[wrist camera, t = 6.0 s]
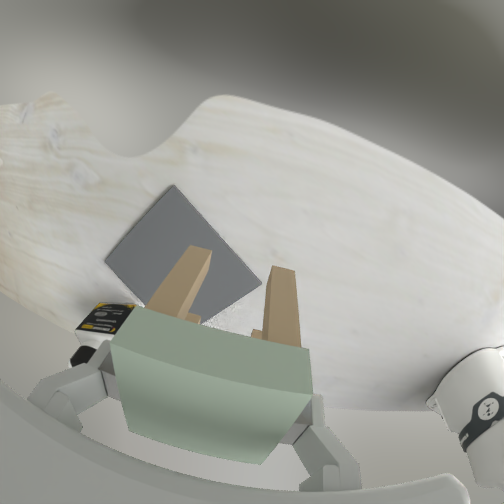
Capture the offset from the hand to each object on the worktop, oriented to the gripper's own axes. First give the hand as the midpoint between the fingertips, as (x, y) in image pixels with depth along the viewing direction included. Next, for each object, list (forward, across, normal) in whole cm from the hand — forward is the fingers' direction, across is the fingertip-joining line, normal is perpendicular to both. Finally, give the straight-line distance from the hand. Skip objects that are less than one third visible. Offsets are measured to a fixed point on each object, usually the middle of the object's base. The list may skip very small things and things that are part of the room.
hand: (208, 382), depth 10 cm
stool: (+6, 0, 0) cm, 6 cm away
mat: (+20, +7, +8) cm, 22 cm away
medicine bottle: (+20, +14, +19) cm, 31 cm away
